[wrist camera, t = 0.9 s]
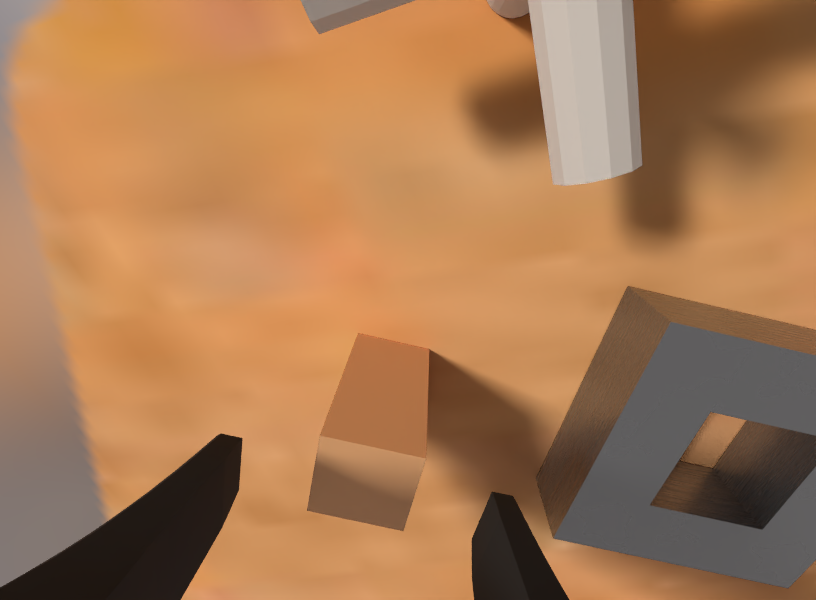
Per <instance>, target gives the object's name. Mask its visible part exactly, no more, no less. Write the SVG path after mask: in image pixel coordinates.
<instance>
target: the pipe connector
mask: <svg viewBox="0 0 816 600" xmlns="http://www.w3.org/2000/svg"><path fill="white" fill-rule="evenodd" d="M412 1H415V0H301V2H302V4H303V6H304V8H305V11H306V13H307V15H308V17H309V19H310V21H311V23H312V24H313V26H314V27H315V29H316V30H317V32H318V33H319V34H321V33H324V32H327V31H330V30H333V29H335V28H338V27H341V26H344V25H347V24H350V23H352V22H355V21H358V20H361V19H364V18H367V17H369V16H372V15H375V14H378V13H381V12H384V11H386V10H389V9H392V8H395V7H398V6H401V5H403V4H406V3H409V2H412ZM487 2H488V4H489V5H490V7H491V8H492V9H493V10H494V11H495V12H496V13H497V14H499V15H501V16H503V17H506V18H517V17H521V16H523V15H525V14H527V13H529V12H530V20H531V27H532V34H533V41H534V49H535V56H536V63H537V71H538V78H539V85H540V92H541V100H542V107H543V114H544V122H545V129H546V136H547V143H548V151H549V158H550V165H551V172H552V180H553V184H554V185H563V186H566V185H576V184H586V183H591V182H595V181H600V180H605V179H610V178H614V177H617V176H620V175H623V174H626V173H629V172H632V171H634V170H636V169H637V168H639V167H640V166H642V152H641V134H640V116H639V99H638V81H637V63H636V45H635V27H634V9H633V0H487Z"/></svg>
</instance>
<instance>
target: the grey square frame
mask: <svg viewBox="0 0 816 600" xmlns="http://www.w3.org/2000/svg"><path fill="white" fill-rule="evenodd" d="M710 412H713V413H718V414H722V415H727V416H731V417H735V418H740V419H744V420H747V421H746V423H745V424H744V426H743V427H742V428H741V430H740V431H739V433H738V434H737V436H736V437H735V438H734V440H733V441H732V443H731V444H730V445H729V447H728V448H727V450H726V451H725V452H724V454H723V455H722V457H721V458H720V460H719V461H718V462H717V464H716V465H715V467H714V468H713V469H712V468H707V467H703V466H698V465H694V464H689V463H685V462H680V461H679V459H680V458H681V456H682V455H683V453H684V452H685V450H686V449H687V447H688V446H689V444H690V443H691V441H692V439H693V438H694V436H695V435H696V433H697V432H698V430H699V429H700V427H701V426H702V424H703V423H704V421H705V420H706V418H707V417H708V415H709V414H710ZM536 480H537V484H538V487H539V491H540V494H541V498H542V501H543V505H544V508H545V512H546V515H547V519H548V522H549V526H550V529H551V533H552V536H553V538H554V539H559V540H563V541H568V542H573V543H577V544H582V545H587V546H592V547H596V548H601V549H606V550H610V551H615V552H620V553H624V554H629V555H634V556H639V557H643V558H648V559H653V560H657V561H662V562H667V563H671V564H676V565H681V566H685V567H690V568H695V569H700V570H704V571H709V572H714V573H718V574H723V575H728V576H732V577H737V578H742V579H747V580H751V581H756V582H761V583H765V584H770V585H775V586H779V587H784V588H789V587H790V586H791V585H792V584H793V583H794V582H795V581H796V580H797V579H798V578H799V577H800V576H801V575H802V574H803V573H804V572H805V571H806V569H807V568H808V567H809V566H810V565H811V564H812V563H813V562H814V561H815V560H816V330H813V329H809V328H805V327H801V326H796V325H792V324H788V323H784V322H779V321H775V320H771V319H766V318H762V317H758V316H754V315H749V314H745V313H741V312H737V311H732V310H728V309H724V308H719V307H715V306H711V305H707V304H702V303H698V302H694V301H690V300H685V299H681V298H677V297H672V296H668V295H664V294H660V293H655V292H651V291H647V290H642V289H638V288H634V287H630V286H628V287H627V289H626V291H625V293H624V295H623V297H622V300H621V302H620V304H619V306H618V308H617V310H616V312H615V314H614V316H613V318H612V321H611V323H610V325H609V327H608V329H607V331H606V333H605V335H604V337H603V339H602V342H601V344H600V346H599V348H598V350H597V352H596V354H595V356H594V358H593V360H592V363H591V365H590V367H589V369H588V371H587V373H586V375H585V377H584V379H583V381H582V383H581V386H580V388H579V390H578V392H577V394H576V396H575V398H574V400H573V402H572V404H571V407H570V409H569V411H568V413H567V415H566V417H565V419H564V421H563V423H562V425H561V428H560V430H559V432H558V434H557V436H556V438H555V440H554V442H553V444H552V446H551V449H550V451H549V453H548V455H547V457H546V459H545V461H544V463H543V465H542V467H541V470H540V472H539V474H538V476H537V478H536Z"/></svg>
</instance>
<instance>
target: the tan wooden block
mask: <svg viewBox="0 0 816 600" xmlns="http://www.w3.org/2000/svg"><path fill="white" fill-rule="evenodd" d="M428 378H429V349H426V348H421V347H417V346H413V345H408V344H404V343H399V342H395V341H390V340H386V339H382V338H377V337H373V336H368V335H364V334H360V333H358V335H357V338H356V340H355V343H354V346H353V348H352V351H351V354H350V356H349V359H348V362H347V364H346V367H345V370H344V372H343V375H342V378H341V380H340V383H339V386H338V388H337V391H336V394H335V396H334V399H333V402H332V404H331V407H330V410H329V412H328V415H327V418H326V421H325V423H324V426H323V429H322V431H321V434H320V438H319V444H318V449H317V455H316V461H315V467H314V473H313V478H312V484H311V490H310V496H309V502H308V508H307V511H311V512H316V513H321V514H325V515H330V516H335V517H340V518H344V519H349V520H354V521H358V522H363V523H368V524H373V525H377V526H382V527H387V528H392V529H396V530H401V531H403V530H404V527H405V524H406V521H407V518H408V515H409V511H410V508H411V505H412V502H413V499H414V496H415V493H416V489H417V486H418V483H419V480H420V477H421V474H422V471H423V467H424V464H425V461H426V450H427V414H428Z"/></svg>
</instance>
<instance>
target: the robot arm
mask: <svg viewBox="0 0 816 600" xmlns="http://www.w3.org/2000/svg"><path fill="white" fill-rule="evenodd" d="M241 452H242V438H239V437H234V436H230V435H225V434H219V435H218V436H216V437H215V438H214V439H213V440H211V441H210V442H209V443H208V444H207V445H206V446H205V447H203V448H202V449H201V450H200V451H199V452H197V453H196V454H195V455H194V456H193V457H192V458H190V459H189V460H188V461H187V462H186V463H184V464H183V465H182V466H181V467H179V468H178V469H177V470H176V471H175V472H173V473H172V474H171V475H169V476H168V477H167V478H166V479H164V480H163V481H162V482H160V483H159V484H158V485H157V486H155V487H154V488H153V489H152V490H150V491H149V492H148V493H146V494H145V495H144V496H142V497H141V498H140V499H138V500H137V501H135V502H134V503H133V504H131V505H130V506H128V507H127V508H126V509H124V510H123V511H122V512H120V513H119V514H117V515H116V516H115V517H113V518H112V519H110V520H109V521H107V522H106V523H105V524H103V525H102V526H100V527H99V528H97V529H96V530H94V531H93V532H91V533H90V534H88V535H87V536H85V537H84V538H82V539H81V540H79V541H78V542H76V543H74V544H73V545H71V546H69V547H68V548H66V549H65V550H63V551H62V552H60V553H58V554H57V555H55V556H53V557H52V558H50V559H48V560H47V561H45V562H43V563H42V564H40V565H38V566H37V567H35V568H33V569H31V570H30V571H28V572H26V573H25V574H23V575H21V576H20V577H18V578H16V579H14V580H13V581H11V582H9V583H7V584H6V585H4V586H2V587H0V600H181V598H182V596H183V594H184V593H185V591H186V589H187V588H188V586H189V584H190V582H191V581H192V579H193V577H194V575H195V574H196V572H197V570H198V569H199V567H200V565H201V563H202V562H203V560H204V558H205V556H206V555H207V553H208V551H209V549H210V548H211V546H212V544H213V542H214V541H215V539H216V537H217V535H218V534H219V532H220V530H221V528H222V526H223V524H224V522H225V520H226V518H227V516H228V513H229V511H230V509H231V507H232V504H233V502H234V500H235V498H236V495H237V493H238V491H239V480H240V466H241ZM472 582H473V592H474V600H569V598H568V597H567V595H566V593H565V592H564V590H563V588H562V587H561V585H560V583H559V581H558V580H557V578H556V576H555V574H554V572H553V571H552V569H551V567H550V565H549V564H548V562H547V560H546V558H545V556H544V555H543V553H542V551H541V549H540V547H539V545H538V543H537V541H536V540H535V538H534V536H533V534H532V532H531V530H530V528H529V526H528V524H527V522H526V520H525V518H524V516H523V514H522V512H521V510H520V508H519V506H518V504H517V503H516V501H515V499H514V497H513V496H510V495H505V494H501V493H496V492H492V493H491V495H490V498H489V500H488V502H487V505H486V507H485V509H484V512H483V514H482V516H481V519H480V521H479V523H478V526H477V528H476V530H475V533H474V535H473V537H472Z"/></svg>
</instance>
